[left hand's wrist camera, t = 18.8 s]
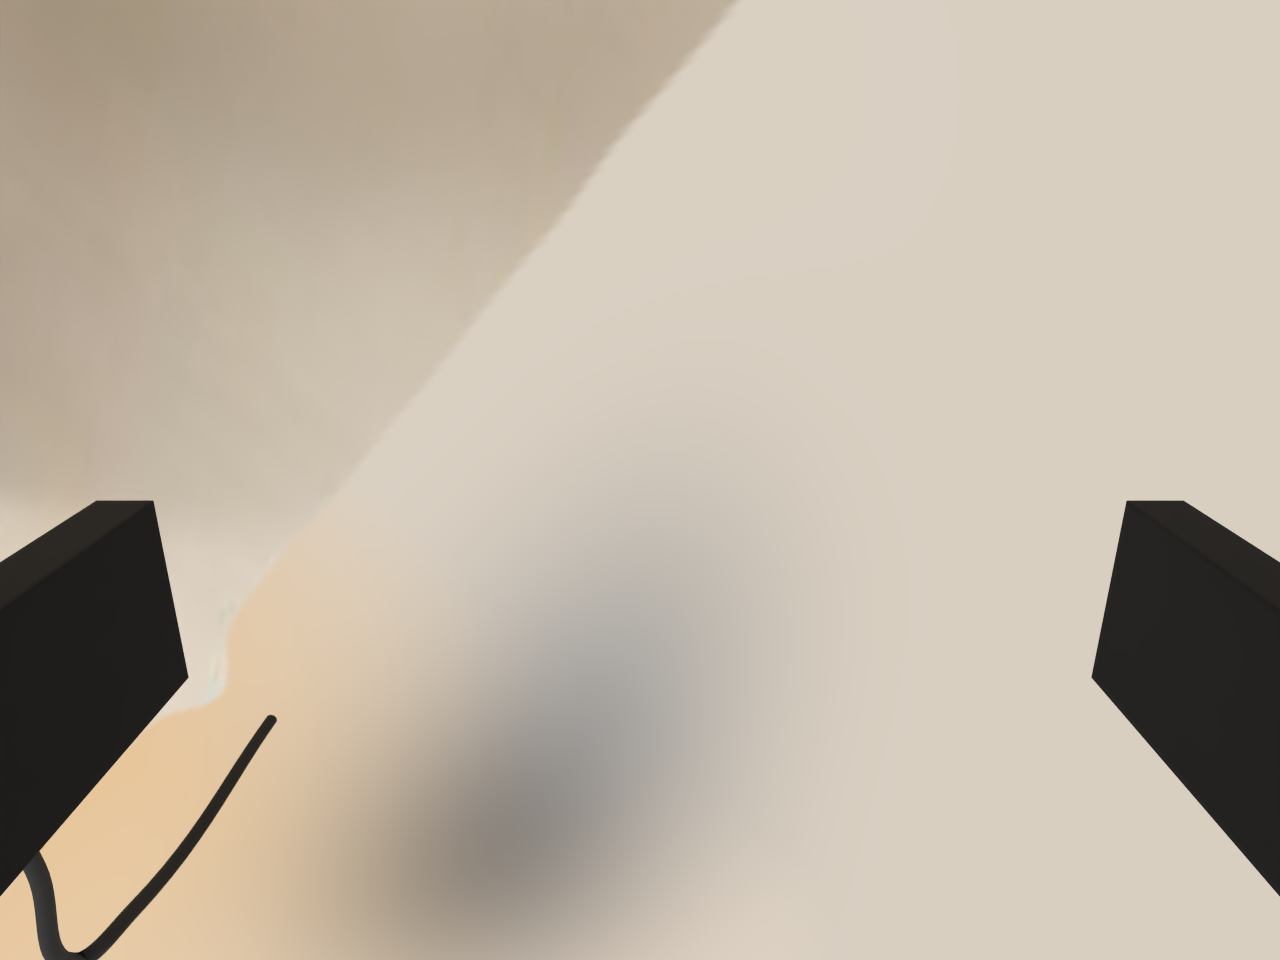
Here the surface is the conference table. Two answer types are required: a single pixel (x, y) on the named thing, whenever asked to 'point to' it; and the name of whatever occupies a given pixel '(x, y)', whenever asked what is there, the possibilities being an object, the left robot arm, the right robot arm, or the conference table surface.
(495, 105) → the conference table surface
